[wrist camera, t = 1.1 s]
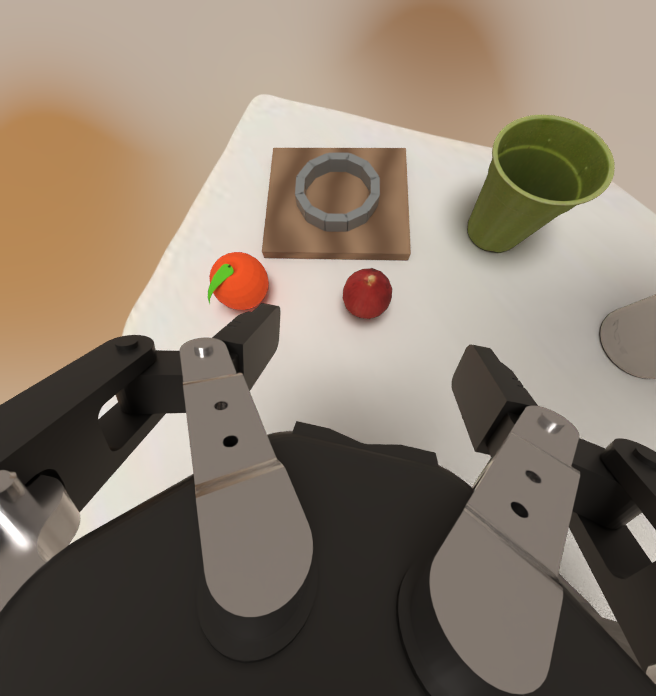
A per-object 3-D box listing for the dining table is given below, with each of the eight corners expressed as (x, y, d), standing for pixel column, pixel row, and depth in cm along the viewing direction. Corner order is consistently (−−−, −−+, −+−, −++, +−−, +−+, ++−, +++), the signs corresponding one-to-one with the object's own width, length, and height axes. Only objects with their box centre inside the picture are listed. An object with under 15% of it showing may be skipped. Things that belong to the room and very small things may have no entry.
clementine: (243, 334, 36) (220, 313, 29) (207, 302, 37) (177, 275, 30) (284, 291, 37) (272, 261, 30) (248, 262, 38) (229, 227, 31)
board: (403, 157, 42) (405, 148, 41) (407, 260, 38) (410, 253, 36) (275, 157, 43) (273, 147, 41) (264, 257, 38) (261, 251, 37)
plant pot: (548, 219, 39) (632, 141, 28) (513, 283, 36) (589, 225, 25) (472, 183, 41) (522, 97, 30) (434, 241, 38) (473, 171, 27)
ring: (377, 165, 40) (379, 152, 38) (377, 232, 37) (380, 221, 35) (300, 165, 40) (298, 152, 38) (294, 231, 38) (292, 220, 36)
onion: (353, 280, 37) (358, 243, 29) (392, 296, 36) (408, 263, 29) (335, 316, 36) (334, 288, 28) (375, 334, 35) (386, 310, 27)
